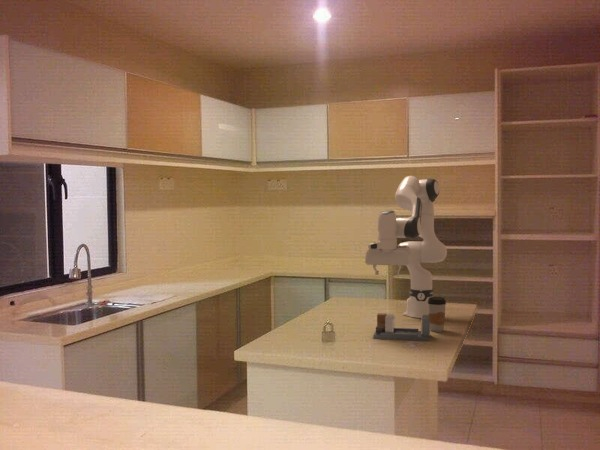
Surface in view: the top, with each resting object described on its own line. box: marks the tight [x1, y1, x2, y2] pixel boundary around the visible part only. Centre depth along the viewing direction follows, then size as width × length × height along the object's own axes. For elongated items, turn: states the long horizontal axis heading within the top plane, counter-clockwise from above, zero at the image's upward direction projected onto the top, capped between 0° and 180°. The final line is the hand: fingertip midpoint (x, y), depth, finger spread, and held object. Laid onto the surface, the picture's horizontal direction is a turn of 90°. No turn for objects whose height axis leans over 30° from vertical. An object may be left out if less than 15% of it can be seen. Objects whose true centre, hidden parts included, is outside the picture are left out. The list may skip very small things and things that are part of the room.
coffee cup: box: [428, 296, 447, 333], centre depth 269 cm, size 8×8×15 cm
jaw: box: [375, 313, 396, 333], centre depth 260 cm, size 9×8×7 cm
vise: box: [373, 315, 431, 342], centre depth 258 cm, size 12×24×9 cm, turn 76°
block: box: [376, 312, 388, 327], centre depth 272 cm, size 4×4×8 cm
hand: (387, 274), depth 271 cm, fingers open, 8 cm apart
